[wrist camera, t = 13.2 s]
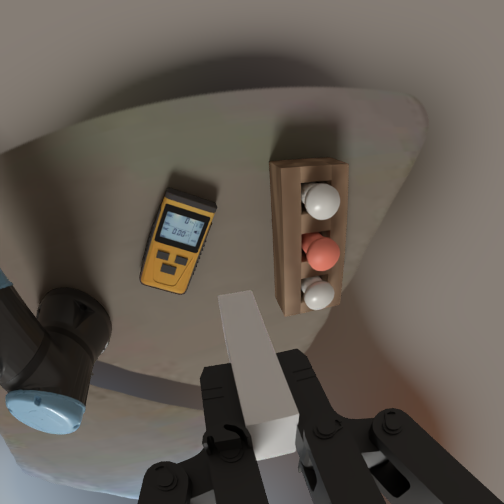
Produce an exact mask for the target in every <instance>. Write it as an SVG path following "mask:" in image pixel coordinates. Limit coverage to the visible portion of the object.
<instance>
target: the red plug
mask: <svg viewBox="0 0 504 504" xmlns="http://www.w3.org/2000/svg"><path fill="white" fill-rule="evenodd" d="M301 248H302V249H303V250H304V251H305V253H306V258H307V261H308V263H309V264H310V266H311V267H312V268H313V269H315V270H317V271H325V270H328V269H330V268H331V267H333V266H334V265H335V264H336V262H337V261H338V259H339V256H340V249H339V246H338V245H337V243H336V242H335V241H333V240H332V239H331V238H328V237H323V236H322V235H321V234H320V233H319V232H313V233H306V234H301Z"/></svg>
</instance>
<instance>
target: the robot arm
mask: <svg viewBox="0 0 504 504" xmlns="http://www.w3.org/2000/svg"><path fill="white" fill-rule="evenodd" d="M218 301H219V307H220V313H221V319H222V325H223V331H224V337H225V342H226V347H227V352H228V357H229V361H230V363H227V364H221V365H215V366H208V367H204V369H203V372H202V374H201V377H200V383H201V391H202V399H203V408H204V416H205V423H206V432H205V433H204V435H203V440H202V445H203V447H204V448H203V450H202V451H201V452H200V453H199V454H198V455H196V456H194V457H192V458H190V459H188V460H185V461H183V462H180V463H178V464H176V463H173V462H170V461H166V462H159V463H156V464H153V465H152V466H151V467H150V468H149V469H147V471H146V473H145V475H144V479H143V483H142V487H141V491H140V496H139V500H138V504H269V503H268V499H267V496H266V493H265V489H264V486H263V482H262V478H261V475H260V471H259V468H258V464H257V460H262V459H267V458H271V457H276V456H280V455H284V454H288V453H292V452H295V450H296V449H297V452H298V454H299V457H300V459H299V465H298V472H299V473H300V472H302V473H303V476H304V478H305V481H306V484H307V487H308V490H309V492H310V495H311V498H312V501H313V503H314V504H386V502H385V501H384V498H383V496H382V495H381V493H382V494H383V495H384V496H385V497H386V498H387V499H388V501H389V502H390V503H391V504H504V503H503V502H502V501H501V500H500V499H498V498H497V497H496V496H495V495H494V494H493V493H492V492H491V491H490V490H489V489H487V488H486V487H485V486H484V485H483V484H482V483H481V482H480V481H479V480H478V479H477V478H475V477H474V476H473V475H472V474H471V473H470V472H469V471H468V470H467V469H466V468H465V467H463V466H462V465H461V464H460V463H459V462H458V461H457V460H456V459H455V458H454V457H453V456H451V455H450V454H449V453H448V452H447V451H446V450H445V449H444V448H443V447H442V446H441V445H440V444H439V443H438V442H436V441H435V440H434V439H433V438H432V437H431V436H430V435H429V434H428V433H427V432H426V431H425V430H424V429H423V428H421V427H420V426H419V425H418V424H417V423H416V422H415V421H414V420H413V419H412V418H411V417H410V416H409V415H408V414H406V413H405V412H403V411H402V410H399V409H394V408H391V409H385V410H383V411H381V412H379V413H378V414H377V415H376V416H375V418H368V419H348V418H345V417H342V416H340V415H339V414H337V413H336V412H335V411H334V410H333V408H332V407H331V405H330V403H329V401H328V399H327V397H326V394H325V392H324V390H323V388H322V386H321V384H320V382H319V380H318V378H317V377H316V374H315V372H314V370H313V369H312V366H311V364H310V362H309V360H308V358H307V356H306V355H304V354H303V353H302V352H301V351H300V350H298V349H293V350H289V351H284V352H280V353H275V350H274V348H273V345H272V343H271V340H270V337H269V335H268V332H267V330H266V327H265V324H264V322H263V319H262V316H261V314H260V311H259V308H258V306H257V303H256V301H255V298H254V295H253V293H252V290H248V291H242V292H236V293H230V294H224V295H218ZM111 331H112V328H111V322H110V319H109V317H108V315H107V313H106V311H105V310H104V308H103V307H102V306H101V305H100V304H99V303H98V302H97V301H96V300H95V299H94V298H92V297H91V296H89V295H88V294H86V293H84V292H82V291H79V290H76V289H72V288H58V289H54V290H52V291H50V292H49V293H47V294H46V295H45V297H44V298H43V300H42V301H41V303H40V305H39V307H38V310H37V316H36V317H35V316H34V315H33V313H32V312H31V311H30V309H29V308H28V307H27V305H26V304H25V302H24V301H23V300H22V298H21V297H20V295H19V294H18V292H17V291H16V289H15V288H14V287H13V283H12V282H10V281H9V280H8V279H7V277H6V276H5V274H4V273H3V271H2V270H1V269H0V385H1V386H2V387H3V388H4V389H5V390H6V391H7V392H8V394H7V395H6V398H5V399H6V406H7V408H8V410H9V411H10V413H11V414H12V415H13V416H14V417H15V418H17V419H18V420H20V421H21V422H23V423H24V424H26V425H28V426H30V427H32V428H34V429H37V430H40V431H43V432H47V433H52V434H68V433H72V432H74V431H76V430H77V429H78V428H79V426H80V424H81V420H82V416H83V413H84V412H85V406H86V400H87V395H88V389H89V384H90V379H91V375H92V370H93V366H94V363H95V362H96V360H97V359H98V357H99V356H100V355H101V354H102V353H103V352H104V351H105V349H106V348H107V346H108V344H109V341H110V336H111Z"/></svg>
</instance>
